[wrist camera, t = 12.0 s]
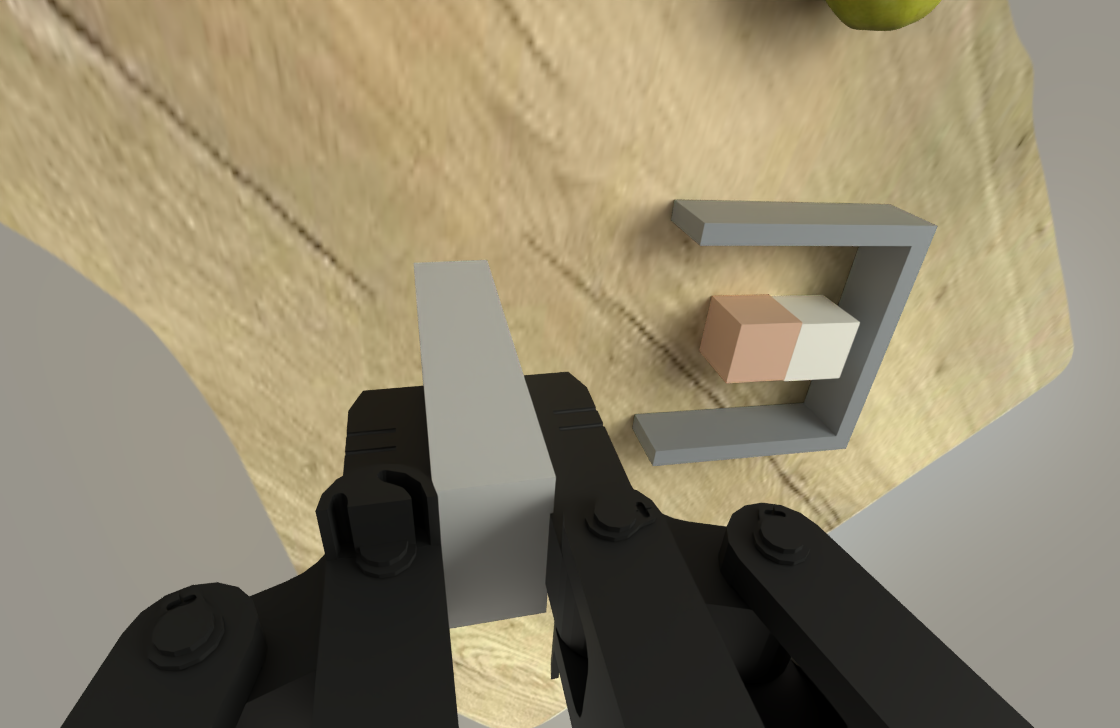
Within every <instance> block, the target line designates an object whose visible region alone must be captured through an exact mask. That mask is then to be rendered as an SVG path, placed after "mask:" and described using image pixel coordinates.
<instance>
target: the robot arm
mask: <svg viewBox="0 0 1120 728" xmlns="http://www.w3.org/2000/svg"><path fill="white" fill-rule="evenodd" d="M414 273H415V286H416V299H417V311H418V324H419V337H420V350H421V363H422V375H423V386H414V387H402V388H390V389H378V390H366V391H363V392H362V393H361V394H360V396H359V397H358V398H357V400H356V401H355V403H354V404H353V405H352V407H351V408H350V409H349V411H348V423H347V437H346V447H345V459H344V471H343V476H342V477H340V478H338V479H336V480H335V482H334V483H333V484H332V485H331V486H330V487H329V488H328V489H327V490H326V491H325V492H324V493H323V494H322V496H321V498H320V501H319V503H318V506H317V508H316V511H315V512H316V516H317V520H318V525H319V529H320V534H321V538H322V543H323V547H324V551H325V555H324V556H323V557H322V558H321V559H320V560H319V561H318V562H317V563H316V564H314V565H313V566H312V567H310V568H309V569H308V570H306V571H305V572H304V573H302V574H300V575H298V576H296V577H294V578H292V579H290V580H288V581H286V582H284V583H282V584H279V585H277V586H274V587H272V588H269V589H267V590H264V591H262V592H259V593H257V594H255V595H252V596H248V595H247V594H245V593H244V592H243V591H242V590H241V589H240V588H239V587H235V586H231V585H226V584H222V583H218V582H217V583H207V584H198V585H191V586H189V587H186V588H184V589H181V590H179V591H176V592H173V593H171V594H168V595H166V596H164V597H163V598H161V599H160V600H158V601H157V602H155V603H154V604H152V605H151V606H150V607H148V608H147V609H145V610H144V611H142V612H141V613H140V614H139V615H138V617H137V618H136V619H135V620H134V621H133V622H132V623H131V624H130V626H129V627H128V628H127V629H126V630H125V631H124V632H123V633H122V635H121V636H120V638H119V639H118V641H117V642H116V644H115V646H114V647H113V649H112V650H111V652H110V653H109V655H108V656H107V658H106V659H105V661H104V662H103V664H102V665H101V667H100V668H99V670H98V671H97V673H96V674H95V676H94V677H93V679H92V680H91V682H90V684H89V685H88V686H87V688H86V690H85V691H84V693H83V694H82V696H81V697H80V699H79V700H78V702H77V703H76V705H75V706H74V708H73V709H72V711H71V712H70V714H69V715H68V717H67V718H66V720H65V721H64V723H63V725H62V726H61V728H459V726H458V715H457V704H456V694H455V683H454V673H453V662H452V652H451V641H450V630H449V629H450V628H456V627H462V626H468V625H474V624H480V623H486V622H492V621H498V620H504V619H510V618H516V617H522V616H528V615H533V614H539V613H545V612H546V607H547V593H548V597H549V601H550V605H551V609H552V613H553V617H554V632H553V644H552V655H551V679H555V678H559V673H560V678H561V682H562V686H563V691H564V695H565V699H566V703H567V708H568V712H569V716H570V720H571V725H572V728H1034V727H1033V726H1032V725H1031V724H1030V723H1029V722H1028V721H1027V720H1025V719H1024V718H1023V717H1022V716H1021V715H1020V714H1019V713H1018V712H1017V711H1016V710H1015V709H1014V708H1013V707H1012V706H1010V705H1009V704H1008V703H1007V702H1006V701H1005V700H1004V699H1003V698H1002V697H1001V696H1000V695H999V694H997V692H995V691H994V690H993V689H992V688H991V687H990V686H989V685H988V684H987V683H986V682H985V681H984V680H983V679H981V677H979V676H978V675H977V674H976V673H975V672H974V671H973V670H972V669H971V668H970V667H969V666H968V665H967V664H966V663H964V662H963V661H962V660H961V659H960V658H959V657H958V656H957V655H956V654H955V653H954V652H953V651H952V650H951V649H949V648H948V647H947V646H946V645H945V644H944V643H943V642H942V641H941V640H940V639H939V638H938V637H937V636H936V635H934V634H933V633H932V632H931V631H930V630H929V629H928V628H927V627H926V626H925V625H924V624H923V623H922V622H921V621H919V620H918V619H917V618H916V617H915V616H914V615H913V614H912V613H911V612H910V611H909V610H908V609H907V608H906V607H905V606H903V605H902V604H901V603H900V602H899V601H898V600H897V599H896V598H895V597H894V596H893V595H892V594H890V593H889V591H887V590H886V589H885V588H884V587H883V586H882V585H881V584H880V583H879V582H878V581H877V580H875V578H874V577H872V576H871V575H870V574H869V573H868V572H867V571H866V570H865V569H864V568H863V567H862V566H861V565H860V564H859V563H857V562H856V561H855V560H854V559H853V558H852V557H851V556H850V555H849V554H848V553H847V552H846V551H845V550H843V549H842V548H841V547H840V546H839V545H838V544H837V543H836V542H835V541H834V540H833V539H832V538H831V537H830V536H828V534H826V533H825V532H824V531H823V530H822V529H821V528H820V527H819V526H818V525H817V524H815V523H814V522H812V521H811V520H810V519H808V518H807V517H805V516H804V515H803V514H801V513H799V512H797V511H794V510H792V509H789V508H787V507H784V506H782V505H776V504H768V503H757V504H751V505H746V506H744V507H742V508H741V509H739V510H738V511H736V512H735V513H733V514H732V516H731V518H730V521H729V523H728V525H727V527H726V526H718V525H711V524H703V523H695V522H688V521H683V520H679V519H674V518H671V517H669V516H667V515H664V514H662V513H661V512H660V510H659V509H658V508H657V506H656V505H655V504H654V502H653V501H652V500H651V499H649V498H648V497H646V496H645V495H643V494H642V493H640V492H639V491H637V490H634V489H633V488H632V486H631V484H630V482H629V480H628V477H627V475H626V473H625V471H624V469H623V466H622V464H621V462H620V460H619V457H618V455H617V453H616V451H615V449H614V446H613V444H612V442H611V440H610V438H609V435H608V433H607V431H606V429H605V427H603V422H602V420H601V418H600V415H599V413H598V411H596V406H595V404H594V402H593V400H592V398H591V395H590V393H589V391H588V389H587V387H586V386H585V385H583V384H582V383H581V382H580V381H579V380H577V379H576V378H575V377H574V376H573V375H571V374H570V373H569V372H559V373H547V374H535V375H523V372H522V369H521V366H520V362H519V359H518V356H517V353H516V350H515V347H514V343H513V340H512V337H511V334H510V331H509V328H508V325H507V321H506V318H505V315H504V312H503V309H502V306H501V303H500V299H499V296H498V293H497V290H496V287H495V284H494V280H493V277H492V274H491V271H490V268H489V265H488V262H487V260H471V261H447V262H422V263H414Z"/></svg>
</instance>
